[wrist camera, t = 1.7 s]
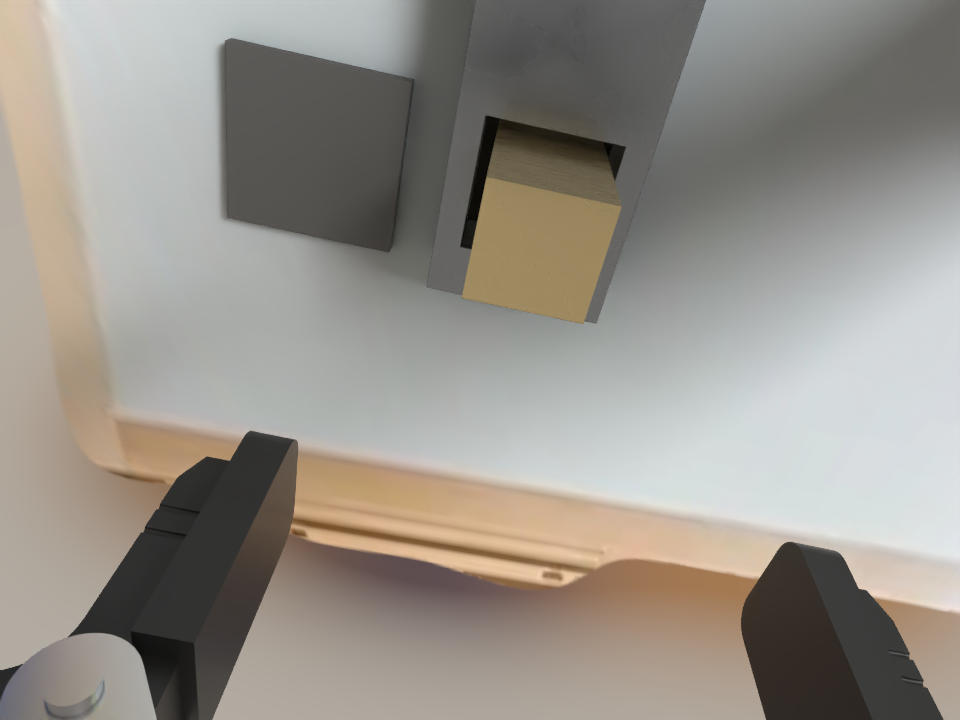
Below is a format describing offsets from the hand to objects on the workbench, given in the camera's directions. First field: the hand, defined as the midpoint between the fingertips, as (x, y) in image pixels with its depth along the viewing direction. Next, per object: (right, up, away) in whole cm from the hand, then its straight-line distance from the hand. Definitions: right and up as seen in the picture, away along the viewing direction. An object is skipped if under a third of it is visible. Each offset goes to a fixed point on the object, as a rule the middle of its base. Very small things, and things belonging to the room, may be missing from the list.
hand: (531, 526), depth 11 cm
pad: (-7, +11, +16) cm, 21 cm away
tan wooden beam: (+2, +10, +16) cm, 19 cm away
